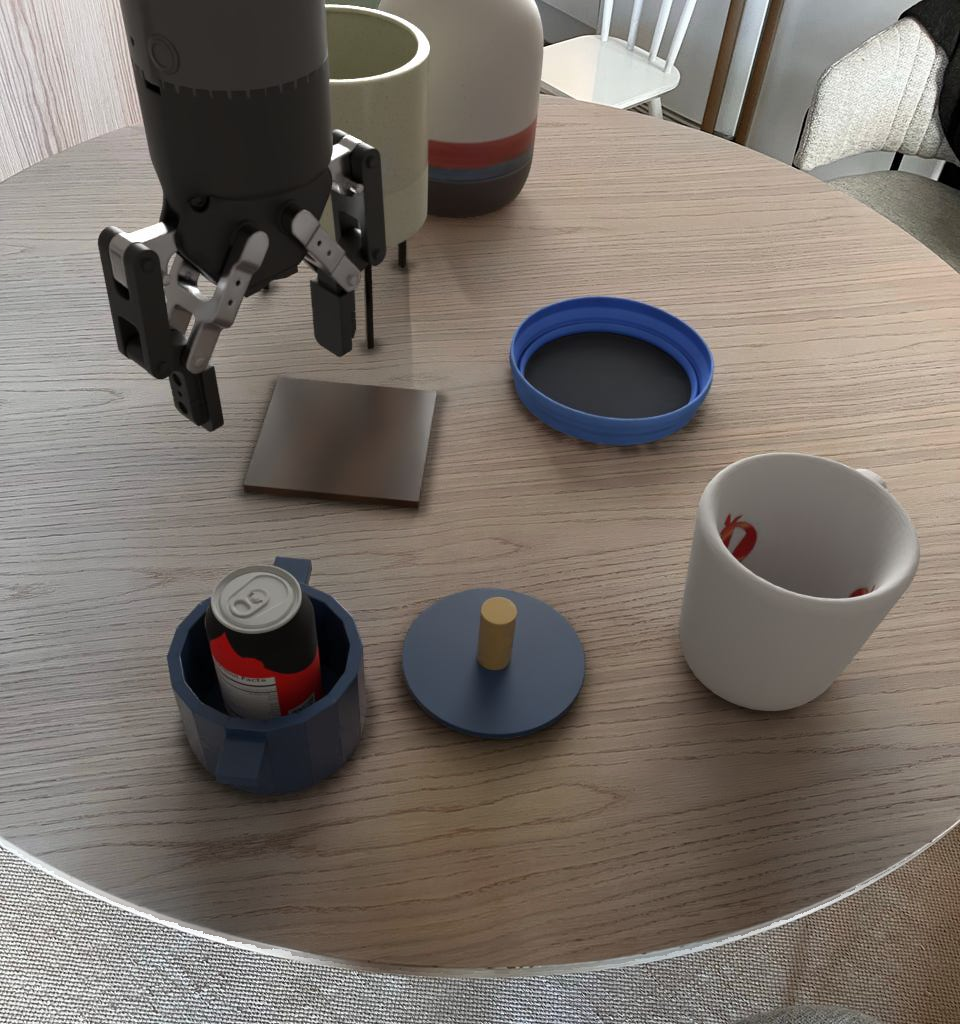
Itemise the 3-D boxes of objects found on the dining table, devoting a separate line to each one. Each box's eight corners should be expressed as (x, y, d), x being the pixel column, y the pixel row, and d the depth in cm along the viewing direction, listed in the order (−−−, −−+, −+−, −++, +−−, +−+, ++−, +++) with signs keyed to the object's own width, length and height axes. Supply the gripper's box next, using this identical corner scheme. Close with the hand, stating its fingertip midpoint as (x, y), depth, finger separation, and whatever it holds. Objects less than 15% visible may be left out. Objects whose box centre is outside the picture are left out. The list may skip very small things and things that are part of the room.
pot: (156, 823, 63) (130, 759, 57) (221, 613, 73) (205, 541, 67) (343, 841, 62) (337, 779, 57) (381, 628, 73) (379, 558, 67)
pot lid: (390, 734, 68) (388, 679, 63) (413, 590, 76) (413, 531, 71) (581, 753, 67) (595, 699, 63) (584, 607, 75) (596, 549, 71)
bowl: (725, 358, 96) (735, 326, 93) (676, 477, 85) (685, 444, 82) (546, 308, 99) (550, 275, 96) (476, 416, 88) (479, 382, 86)
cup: (755, 528, 82) (808, 389, 71) (910, 619, 77) (992, 484, 66) (619, 660, 72) (656, 523, 62) (785, 773, 67) (857, 646, 57)
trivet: (244, 492, 81) (242, 484, 80) (279, 383, 90) (278, 375, 89) (418, 509, 81) (418, 501, 80) (437, 398, 90) (437, 391, 89)
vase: (503, 246, 106) (524, -9, 87) (352, 211, 108) (341, -43, 90) (547, 172, 116) (573, -71, 97) (408, 142, 118) (407, -99, 100)
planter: (462, 295, 100) (474, 41, 82) (349, 367, 92) (335, 103, 74) (349, 236, 105) (337, -14, 87) (233, 299, 97) (194, 38, 79)
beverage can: (344, 715, 68) (334, 598, 58) (270, 772, 65) (247, 658, 55) (283, 661, 70) (264, 540, 61) (209, 714, 67) (177, 595, 58)
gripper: (301, -33, 44) (324, 298, 57) (7, 57, 37) (108, 412, 50) (427, 22, 41) (421, 357, 54) (134, 131, 34) (207, 488, 47)
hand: (271, 383), depth 52 cm, fingers open, 8 cm apart
